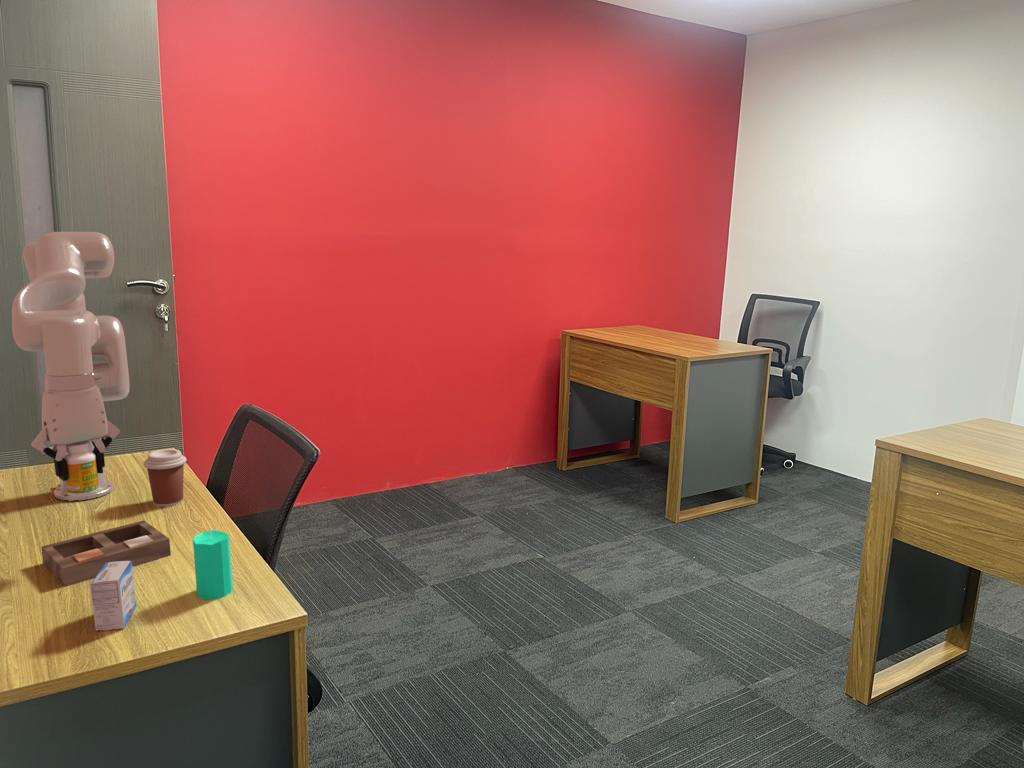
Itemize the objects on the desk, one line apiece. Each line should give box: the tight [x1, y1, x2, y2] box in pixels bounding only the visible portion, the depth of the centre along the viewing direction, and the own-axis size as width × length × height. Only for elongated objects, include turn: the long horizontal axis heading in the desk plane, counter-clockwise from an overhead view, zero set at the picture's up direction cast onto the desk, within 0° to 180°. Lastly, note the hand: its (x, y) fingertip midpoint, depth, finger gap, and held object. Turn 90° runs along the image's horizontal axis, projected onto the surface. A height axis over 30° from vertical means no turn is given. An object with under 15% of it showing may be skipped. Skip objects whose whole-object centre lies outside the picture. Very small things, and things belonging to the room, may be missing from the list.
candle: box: [192, 528, 234, 600], centre depth 137 cm, size 6×6×12 cm
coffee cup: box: [142, 448, 187, 508], centre depth 179 cm, size 9×9×12 cm
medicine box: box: [89, 561, 137, 632], centre depth 127 cm, size 8×4×9 cm, turn 12°
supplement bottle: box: [64, 441, 99, 496], centre depth 145 cm, size 5×5×10 cm
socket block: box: [41, 520, 172, 587], centre depth 149 cm, size 13×19×4 cm
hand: (81, 474), depth 146 cm, fingers closed on supplement bottle, 5 cm apart
